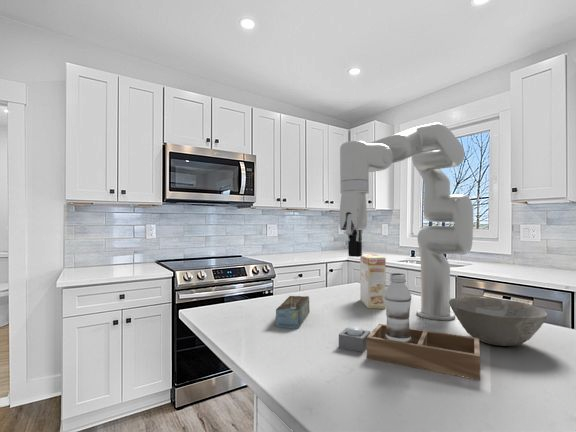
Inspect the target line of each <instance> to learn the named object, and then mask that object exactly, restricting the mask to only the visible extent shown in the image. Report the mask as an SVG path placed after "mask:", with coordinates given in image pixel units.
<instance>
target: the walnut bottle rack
mask: <svg viewBox="0 0 576 432" xmlns="http://www.w3.org/2000/svg"><path fill="white" fill-rule="evenodd" d="M386 326H387V324H386V323H385V324H384V323H378V324H377V326H376V327H374V329H373V330H372V331H370V334H369V335H368V336H367V349H366V359H371V360H375V361H376V360H377V361H380V362H386V363H391V364H395V365H401V366H406V367H409V368H410V367H411V368H416V369H421V370H427V371H430V372H435V373H441V374H445V373H446V375H450V374H453V375H452V376H455V375H459V376H458V377H460V376H464V377H463V378H465V377H468V378H467V379H470V378H473V379H472V380H475V379H478V380H477V381H481V361H480V360H481V354H480V353H481V352H480V350H481V349H480V340H479V338H474V337H472V336H466V335H460V334H459V335H458V334H452V333H445V332H439V331H432V330H425V329H419V328H418V329H417V328H411V327H410V336H411V339H412V343H407V342H401V341H395V340H389V339H385V335H386Z"/></svg>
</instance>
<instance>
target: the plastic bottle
mask: <svg viewBox="0 0 576 432" xmlns="http://www.w3.org/2000/svg"><path fill="white" fill-rule="evenodd" d="M389 282H390V284H389V285H388V286H387V287H386V290H385V293H384V298H385V305H386V309H385V310H386V311H385V312H386V313H385V315H386V325H387V326H386V335H385V339H389V340H395V341H401V342H407V343H412V339H411V336H410V328H411V325H410V314H411V313H410V312H411V311H410V310H411V303H412V293H411V291H410V289H409V288H408V287H407V285H406V282H407V279H406V274H405V273H402V272H400V273H399V272H391V273H390V274H389Z"/></svg>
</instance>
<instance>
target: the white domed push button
mask: <svg viewBox="0 0 576 432" xmlns="http://www.w3.org/2000/svg"><path fill="white" fill-rule="evenodd" d="M346 328H347V335H353V336H359V337H361V336H362V330H363V328H362V327H360V326H356V325H355V326H354V325H351V326H348V327H346Z"/></svg>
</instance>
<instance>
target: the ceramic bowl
mask: <svg viewBox="0 0 576 432" xmlns="http://www.w3.org/2000/svg"><path fill="white" fill-rule="evenodd" d="M449 304H450V309H451V310H452V312H453V313H454V314H455V318H457V320H458V321H459V324H460V325H461V326H462V328H463V329H464V330H465V331H466V333H467V334H468V335H469V336H470V337H474V338H479V342H481V343H486V344H488V345H492V346H501V347H503V346H505V347H506V346H508V347H511V346H512V347H513V346H520V345H522V344H524V343H526V342H528V341H529V340H531V338H533V336H534V335H535V334H536V333H537V332H538V331H539V329H540V328H541V327H542V325H543V324H544V323H545V321H546V320H547V317H548V313H547V312H546V311H545V310H544V309H542V308H540V307H538V306H535V305H534V304H529V303H526V302H521V301H515V300H510V299H508V300H507V299H501V298H493V297H481V296H480V297H479V296H464V297H454V298H450V301H449Z"/></svg>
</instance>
